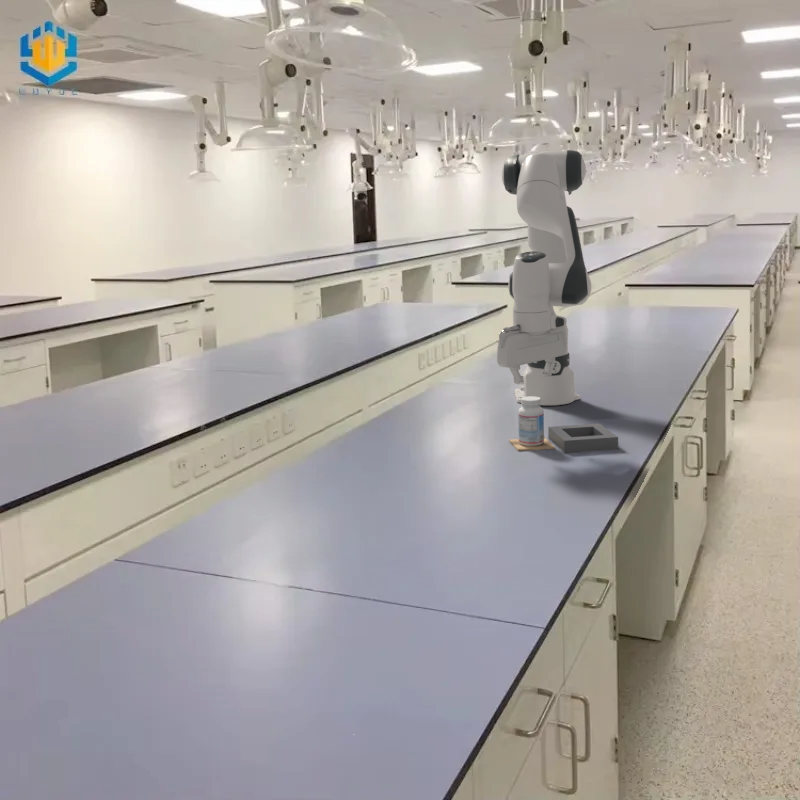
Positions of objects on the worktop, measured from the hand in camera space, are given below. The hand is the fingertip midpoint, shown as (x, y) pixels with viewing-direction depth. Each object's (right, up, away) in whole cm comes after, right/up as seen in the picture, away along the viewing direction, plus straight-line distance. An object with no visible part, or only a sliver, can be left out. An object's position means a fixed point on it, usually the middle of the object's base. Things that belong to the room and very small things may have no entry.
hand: (532, 379), depth 205 cm
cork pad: (0, -16, +3) cm, 16 cm away
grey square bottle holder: (+12, -15, +3) cm, 20 cm away
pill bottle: (0, -16, +3) cm, 16 cm away
